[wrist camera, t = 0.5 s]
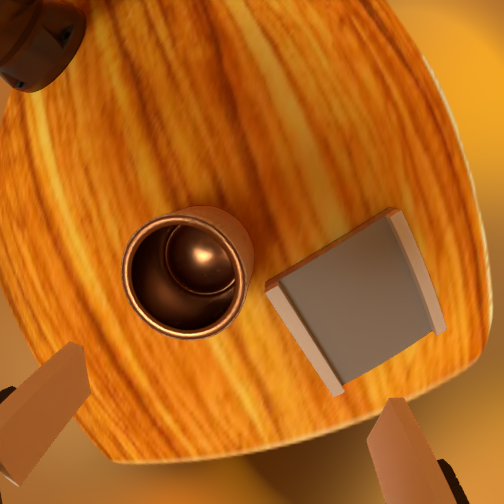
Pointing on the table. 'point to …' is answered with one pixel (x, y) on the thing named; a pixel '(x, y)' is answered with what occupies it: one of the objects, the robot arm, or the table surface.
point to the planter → (188, 271)
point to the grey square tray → (358, 299)
